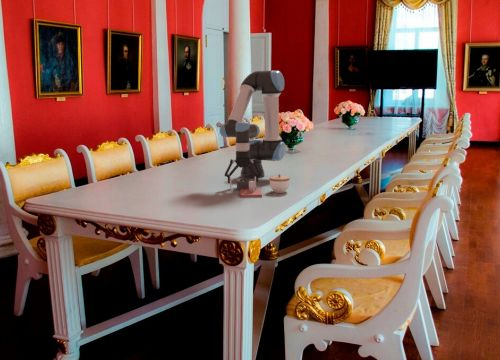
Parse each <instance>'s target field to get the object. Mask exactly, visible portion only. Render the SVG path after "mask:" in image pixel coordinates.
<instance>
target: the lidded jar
mask: <svg viewBox="0 0 500 360" xmlns="http://www.w3.org/2000/svg"><path fill="white" fill-rule="evenodd" d="M290 179H291V178H290V177H289V176H286V175H281V174H280V173H279V174H278V175H273V176H270V177H269V186H270V187H269V188H271V191H273V193H277V194H282V193H286V191H287V190H288V189H289V186H290Z"/></svg>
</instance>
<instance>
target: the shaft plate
mask: <svg viewBox="0 0 500 360" xmlns="http://www.w3.org/2000/svg"><path fill="white" fill-rule="evenodd" d="M262 197H263V192H262V188H256V189H255V180H250V181H249V189H241V190H240V198H262Z"/></svg>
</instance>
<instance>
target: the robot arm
mask: <svg viewBox="0 0 500 360" xmlns="http://www.w3.org/2000/svg"><path fill="white" fill-rule="evenodd" d="M284 89H285V78H284V76H283V74H282V72H281V71H280V70H257V71H256V70H255V71H253V72H251V73H250V74H248V75H246V77H245V78H244V79H243V81H241V84H240V86H239V92H238V96H237V97H236V100H235V103H234V105H233V107H232V109H231V112H230V114H229V116H228V119H227V122H226V123H222V124H221V125H220V126H219V134H220V135H221V137H224V138H235V150H236V151H235V159H233V158H231V159H230V160H229V164H228V166H227V169H226V170H225V173H224V177H226V178H227V183H228V184H229V189H230V190H232V175H233V173H235V171H237V170H238V168H241V169H240V173H239V174H240V177H241V178H243V179H254V181H255V189H257V184H258V183H259V178H264V177H265V170H264V167H263V164H262V163H263V161H269V162H270V161H271V162H279V161H281V160H283V158H284V156H285V153H286V144H285V142H284V141H283V139H282V137H281V136H280V115H279V114H280V112H279V111H280V110H279V107H280V104H279V97H280V95H281V94H282V91H284ZM258 91H259V92H261V95H262V96H263V99H264V100H263V102H264V104H263V105H264V137H263V138H256V137H258V136H259V135H260V132H261V131H260V127H259V126H258V124H253V123H249V121H243V118H244V116H245V114H246V111H247V109H248V106H249V103H250V101H251V99H252V97H253V96H255V93H256V92H258ZM255 138H256V139H255ZM234 163H235V166H234V167H233V169H232V170H231V171H230V169H231V168H232V165H233V164H234Z"/></svg>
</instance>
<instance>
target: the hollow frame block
mask: <svg viewBox="0 0 500 360" xmlns="http://www.w3.org/2000/svg"><path fill="white" fill-rule="evenodd" d="M250 179H251V178H236V191H241V189H249V181H251V180H250Z"/></svg>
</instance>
